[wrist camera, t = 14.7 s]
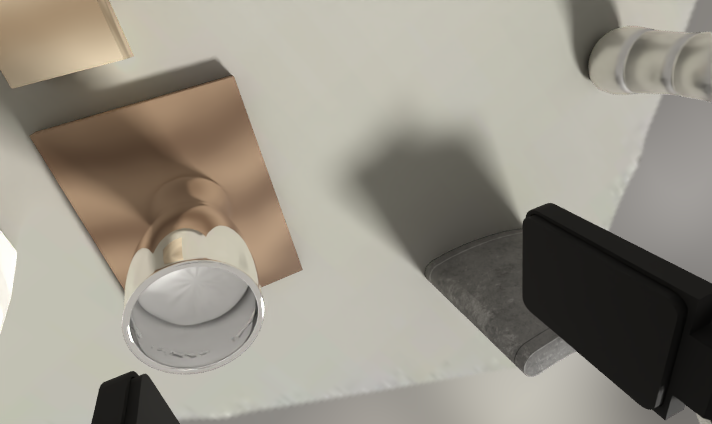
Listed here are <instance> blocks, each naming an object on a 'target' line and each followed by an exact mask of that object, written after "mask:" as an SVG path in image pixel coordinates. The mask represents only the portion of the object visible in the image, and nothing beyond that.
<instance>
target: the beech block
mask: <svg viewBox="0 0 712 424" xmlns="http://www.w3.org/2000/svg"><path fill="white" fill-rule="evenodd" d="M133 56H134V55H133V53H132V50H131V48H130V46H129V44H128V42H127V39H126V37H125V35H124V33H123V30H122V28H121V26H120V24H119V22H118V19H117V17H116V15H115V13H114V11H113V8H112V6H111V4H110V2H109V0H0V70H1V72H2V74H3V75H4V77H5V79H6V80H7V82H8V84H9V85H10V87H11V89H13V88H17V87H21V86H25V85H29V84H32V83H36V82H40V81H44V80H48V79H51V78H55V77H59V76H63V75H67V74H70V73H74V72H78V71H82V70H86V69H90V68H93V67H97V66H101V65H105V64H109V63H112V62H116V61H120V60H124V59H127V58H130V57H133Z"/></svg>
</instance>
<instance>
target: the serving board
mask: <svg viewBox="0 0 712 424" xmlns="http://www.w3.org/2000/svg"><path fill="white" fill-rule="evenodd" d="M30 138H31V140H32V141H33V143H34V144H35V146H36V148H37V149H38V151H39V153H40V154H41V156H42V157H43V159H44V161H45V162H46V164H47V166H48V167H49V169H50V170H51V172H52V174H53V175H54V177H55V178H56V180H57V182H58V183H59V185H60V187H61V188H62V190H63V191H64V193H65V195H66V196H67V198H68V200H69V201H70V203H71V204H72V206H73V208H74V209H75V211H76V213H77V214H78V216H79V217H80V219H81V221H82V222H83V224H84V225H85V227H86V229H87V230H88V232H89V234H90V235H91V237H92V238H93V240H94V242H95V243H96V245H97V247H98V248H99V250H100V251H101V253H102V255H103V256H104V258H105V260H106V261H107V263H108V264H109V266H110V268H111V269H112V271H113V272H114V274H115V276H116V277H117V279H118V281H119V282H120V284H121V285H122V287H123V289H124V290H125V285H126V279H127V273H128V268H129V265H130V262H131V259H132V256H133V253H134V251H135V249H136V247H137V245H138V243H139V241H140V240H141V238H142V236H143V235H144V233H145V232H146V230H147V229H148V228H149V226H150V225H151V220H150V204H151V201H152V199H153V197H154V195H155V193H156V192H157V191H158V190H159V188H160V187H162V186H163V185H164V184H165V183H167V182H169V181H171V180H173V179H175V178H178V177H183V176H199V177H203V178H207V179H209V180H211V181H213V182H215V183H216V184H218V185H219V186H220V187H221V188H222V189H223V190H224V191H225V193H226V194H227V196H228V198H229V200H230V203H231V208H232V217H231V220H232V221H233V222H234V224H235V225H236V226H237V227H238V228H239V230H240V231H241V233H242V234H243V236H244V237H245V239H246V240H247V242H248V244H249V246H250V248H251V251H252V253H253V256H254V258H255V261H256V265H257V269H258V273H259V279H260V285H261V287H263V286H265V285H268V284H270V283H273V282H275V281H277V280H280V279H282V278H285V277H287V276H289V275H292V274H294V273H296V272H299V271H301V270H303V269H302V267H301V264H300V261H299V258H298V255H297V253H296V250H295V247H294V244H293V241H292V239H291V236H290V233H289V230H288V227H287V224H286V222H285V219H284V216H283V213H282V210H281V208H280V205H279V202H278V199H277V196H276V194H275V191H274V188H273V185H272V182H271V179H270V177H269V174H268V171H267V168H266V165H265V163H264V160H263V157H262V154H261V151H260V149H259V146H258V143H257V140H256V137H255V134H254V132H253V129H252V126H251V123H250V120H249V118H248V115H247V112H246V109H245V106H244V104H243V101H242V98H241V95H240V92H239V89H238V87H237V84H236V81H235V78H234V76H232V75H230V76H227V77H224V78H220V79H217V80H213V81H210V82H206V83H203V84H199V85H196V86H192V87H189V88H185V89H182V90H179V91H175V92H172V93H168V94H165V95H161V96H158V97H154V98H151V99H147V100H144V101H141V102H137V103H134V104H130V105H127V106H123V107H120V108H116V109H113V110H109V111H106V112H102V113H99V114H96V115H92V116H89V117H85V118H82V119H78V120H75V121H71V122H68V123H64V124H61V125H58V126H54V127H51V128H47V129H44V130H40V131H37V132H35V133H33V134H32V135H30Z"/></svg>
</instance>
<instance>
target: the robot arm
mask: <svg viewBox="0 0 712 424" xmlns="http://www.w3.org/2000/svg"><path fill="white" fill-rule="evenodd" d="M522 298H523V302H524V304H525V306H526V308H527V309H528V310H529V311H530V312H531V313H532V314H533V315H535V316H536V317H537V318H538V319H539V320H540V321H542V322H543V323H544V324H545V325H546V326H548V327H549V328H550V329H551V330H552V331H553V332H555V333H556V334H557V335H558V336H559V337H560V338H562V339H563V340H564V341H565V342H566V343H568V344H569V345H570V346H571V347H572V348H573V349H575V350H576V351H577V352H578V353H579V354H581V355H582V356H583V357H584V358H585V359H586V360H588V361H589V362H590V363H591V364H592V365H594V366H595V367H596V368H597V369H598V370H599V371H600V372H602V373H603V374H604V375H605V376H606V377H608V378H609V379H610V380H611V381H612V382H613V383H615V384H616V385H617V386H618V387H619V388H620V389H622V390H623V391H624V392H625V393H626V394H628V395H629V396H630V397H631V398H632V399H633V400H635V401H636V402H637V403H638V404H639V405H641V406H642V407H644V408H646V409H650V410H651V409H652V410H654V411H655V412H656V413H657V414H658V415H659V416H661V417H662V418H663V419H664V420H667V419H668V418H670V417H672V416H673V415H675V414H677V413H679V412H680V411H682V410H684V407H685V405H686V406H688V407H689V408H690V409H692V410H693V411H694V412H695V413H696V415H697V418H698V420H699V423H700V424H712V283H709V282H708V281H706V280H704V279H702V278H700V277H698V276H696V275H694V274H692V273H690V272H688V271H686V270H684V269H682V268H680V267H678V266H676V265H674V264H672V263H670V262H668V261H666V260H664V259H662V258H660V257H658V256H656V255H654V254H652V253H650V252H648V251H646V250H644V249H642V248H640V247H638V246H636V245H634V244H632V243H630V242H628V241H626V240H624V239H622V238H621V237H619V236H617V235H614V234H613V233H611V232H609V231H607V230H605V229H603V228H601V227H599V226H597V225H595V224H593V223H591V222H589V221H587V220H585V219H583V218H581V217H579V216H577V215H575V214H573V213H571V212H569V211H567V210H565V209H563V208H561V207H559V206H557V205H555V204H552V203H547V204H545V205H542V206H540V207H537V208H535V209H532V210H530V211H529V212H528V213H527V215H526V219H524V221H523V248H522ZM91 424H180V423H179V422H178V420H177V419H176V417H175V415H174V414H173V412H172V411H171V409H170V408H169V406H168V405H167V403H166V402H165V400H164V399H163V397H162V396H161V394H160V392H159V391H158V389H157V388H156V386H155V385H154V383H153V382H152V380H151V379H150V377H149V376H148V375H147V374H142V375H140V376H139V375H138V374H137V373H136V372H134V371H131V372H128V373H126V374H123V375H121V376H118V377H116V378H113V379H111V380H108V381H106V382H104V383H102V384H101V386H100V389H99V392H98V397H97V401H96V406H95V410H94V415H93V419H92V423H91Z"/></svg>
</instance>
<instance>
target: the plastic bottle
mask: <svg viewBox="0 0 712 424" xmlns="http://www.w3.org/2000/svg"><path fill="white" fill-rule="evenodd" d="M588 71H589V76H590V79H591V80H592V82H593V83H594V85H595V86H596V87H597V88H598V89H600V90H602V91H605V92H607V93H610V94H615V95H629V94H638V93H643V94H670V95H677V96H683V97H688V98H693V99H699V100H703V101H707V102H711V103H712V32H702V33H701V32H696V33H684V32H671V31H659V30H654V29H650V28H645V27H638V26H627V27H622V28H617V29H614V30H612V31H610V32H608V33H607V34H606V35H604V36H603V37H602V38H601V39H600V40H599V41H598V42H597V43H596V45H595V46H594V48H593V50H592V52H591V55H590V59H589V64H588Z"/></svg>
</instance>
